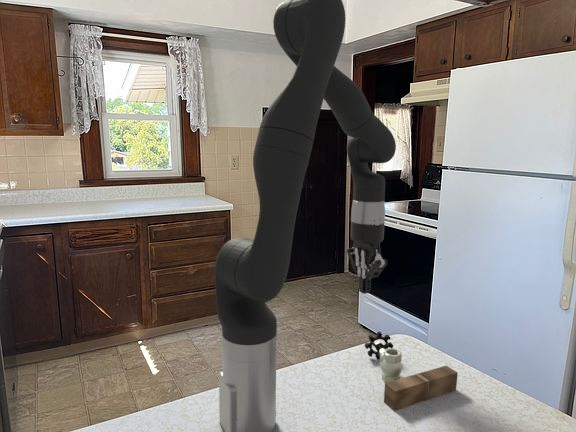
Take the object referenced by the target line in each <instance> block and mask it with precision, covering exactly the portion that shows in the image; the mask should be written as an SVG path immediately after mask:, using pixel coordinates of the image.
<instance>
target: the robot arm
mask: <svg viewBox="0 0 576 432" xmlns="http://www.w3.org/2000/svg"><path fill="white" fill-rule="evenodd" d="M272 20H273V21H272V23H273V31H274V35H275V38H276V40H277V42H278V44H279V46H280V48H281V49H282V50H283V52H284V53H285V54H286V56H288V58H289V59H290V60H291V62H292V63H293V64H294V66H296V68H295V69H294V72H293V73H292V76H291V77H290V78H289V80H288V82H287V83H286V84H285V86H284V87H283V88H282V89H281V91H280V92H279V93H278V95H277V96H276V97H275V99H274V100H273V101H272V102H271V104H270V105H269V106H268V109H267V110H266V112H265V114H263V118H262V120H261V122H260V125H259V129H258V131H257V132H258V133H257V136H256V141H255V145H254V148H253V154H252V166H253V173H254V179H255V183H256V185H255V186H256V189H257V190H256V191H257V193H258V200H259V201H258V203H259V212H258V213H259V216H258V220H257V221H258V222H257V226H256V231H255V234H254V238H253V239H251V238H247V237H234V238H232V239H230V240H227V241H226V242H225V243H224V244H223V245H222V246H221V248H220V249H219V252H218V254H217V257H216V259H215V265H214V287H215V300H216V313H217V317H218V318H217V319H218V321H219V322H220V326H221V333H222V335H221V336H222V337H221V338H222V339H221V340H222V342H221V346H222V348H221V349H222V352H221V353H222V357H221V358H222V361H221V362H222V371H220V372H219V374H218V389H219V390H218V392H219V393H218V394H219V395H218V398H219V399H218V401H219V402H218V403H219V405H218V406H219V411H218V412H219V424H220V425H221V427H222V430H223V431H224V432H274V430H275V429H276V424H277V423H276V422H277V421H276V417H277V404H276V403H277V341H278V340H277V337H278V335H277V333H278V324H277V323H278V322H277V318H276V315H275V313H274V312H273V311H272V310H271V309H270V308H269V306H268V305H267V304H266V303H268V302H270V301H272V300H274V299H275V298H277V296H278V294H280V292H281V290H282V289H283V288H284V285H285V282H286V280H287V276H288V273H289V268H290V263H291V262H290V261H291V256H292V248H293V239H294V232H295V225H296V219H297V214H298V213H297V212H298V208H299V205H300V204H299V203H300V199H301V196H302V195H301V194H302V189H303V183H304V181H305V178H306V177H305V176H306V172H307V168H308V166H309V162H310V159H311V155H312V149H313V146H314V140H315V135H316V130H317V125H318V121H319V118H320V115H321V114H320V113H321V109H322V105H323V102H324V101H325V102H326V105H328V107H329V108H330V111H331V112H332V114H333V116H334V118H335V119H336V121H337V122H338V124H339V126H340V128H341V130H342V131H343V132H344V134H346V136H348V137H349V138H348V141H347V144H346V153H347V158H348V162H349V166H350V172H351V177H352V180H353V187H352V188H353V190H352V191H353V192H352V194H353V196H352V205H351V211H350V213H351V214H350V239H351V240H352V241H353V244H352V247H350V248H347V249H346V252H347V256H348V259H349V261H350V264H351V267H352V270H353V272H354V273H357V276H358V291H359V292H360V293H361V294H369V293H370V292H371V290H372V278H379V276H380V274H381V272H383V270H384V269H385V267H386V266H387V265H388V259H386V258H384V259H383V256H382V255H381V252H382V250H381V243H382V242H383V241H384V238H385V223H386V222H385V220H386V219H385V218H386V217H385V216H386V208H385V207H386V206H385V196H386V195H385V194H386V178H385V177H384V176H383V175H382V174H379V173H376V172H373V171H372V170H371V168H370V167H369V164H386V163H388V162H390V161H391V160H392V159H393V158H394V156H395V153H396V150H397V148H396V147H397V144H396V140H395V137H394V135H393V133H392V132H391V130H390V129H389V128H388V127H387V126H386V125H385V124H384V122H382V121H381V119H379V118H378V116H377V115H375V113H373V111H372V108H371V106H370V104H369V102H368V100H367V98H366V95H365V94H364V92H363V91H362V89H361V88H360V87H359V86H358V85H357V84H356V83H355V81H354V80H352V79H351V78H350V77H348V76H347V75H346V74H344V72H342V71H341V70H339V68H337V67H336V66H335V64H336V61H337V58H338V55H339V53H340V49H341V46H342V43H343V40H344V36H345V29H346V11H345V6H344V3H343V0H284V1H282V2H281V3H279V5H278V6H277V7H276V9H275V12H274V15H273V19H272Z"/></svg>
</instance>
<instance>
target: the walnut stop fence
mask: <svg viewBox="0 0 576 432" xmlns="http://www.w3.org/2000/svg"><path fill="white" fill-rule="evenodd" d="M458 373H459V372H457V371H456V370H454V369H453V368H452V367H449V366H447V365H444V366H443V365H442V366H440V367H436V368H433V369H429V370H426V371H423V372H418V373H415V374H412V375H408V376H405V377H400V379H398V380H394V381H391V382H387V383H384V393H383V403H385V405H387V406H388V407H389V408H390V409H391V410H392V411H393V412H395V411H398V410H401V409H404V408H408V407H410V406H413V405H417V404H419V403H422V402H427V401H428V400H429V401H430V400H431V399H436V398H438V397H440V396H441V397H442V396H444V395H447V394H450V393H453V392H455V391H457V384H458Z"/></svg>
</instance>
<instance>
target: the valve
mask: <svg viewBox="0 0 576 432" xmlns="http://www.w3.org/2000/svg"><path fill="white" fill-rule="evenodd" d="M367 338H368V340H369V342H365V343H364V348H365V349H366V350H368V351H367V353H366V354H367V355H368V357H370V358H371V357H373V355H375V359H376V360H379V361H380V363H381V371H382V372H381V379H382V381H383V383H384V384H385V383H387V382H391V381H394V380H398V379H401V375H400V374H401V373H402V369H403V364H402V358H403V357H402V356H403V355H402V352H401V351H400V350H399V349H397V348H394V344H393V343H392V342H388V341H391V336H390V335H389V334H385V335H384V336H383V333H382V332H381V331H377V332H376V336H373V335H372V334H369V335H368V337H367ZM377 340H378V341H377ZM379 340H381V341H384V344H383V343H382V342H380V341H379ZM376 341H377V342H376ZM373 347H375V350H374V349H373Z"/></svg>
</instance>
